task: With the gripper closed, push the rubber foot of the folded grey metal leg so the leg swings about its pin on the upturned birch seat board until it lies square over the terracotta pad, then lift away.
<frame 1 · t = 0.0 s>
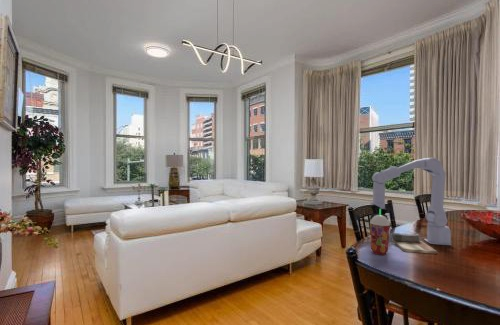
hand: (378, 219, 144), 10 cm above the table, tool pointing down, fingers open, 7 cm apart
coffee cup: (378, 245, 132), on the table
smoothie: (379, 253, 121), on the table
leg: (406, 237, 136), point 3 cm above the table, hinge at 0.0°
seat board: (412, 247, 130), on the table
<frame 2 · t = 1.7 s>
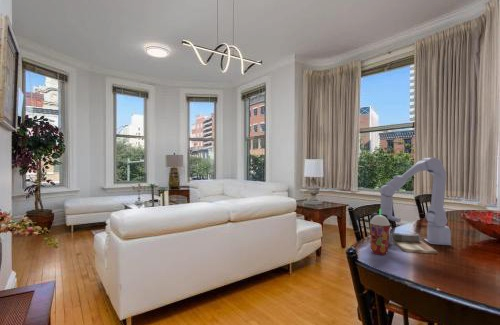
hand: (385, 232, 143), 3 cm above the table, tool pointing down, fingers closed
nothing on the table moved.
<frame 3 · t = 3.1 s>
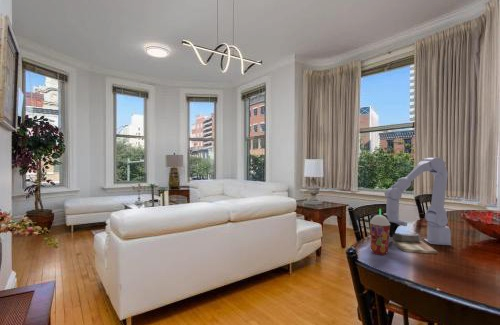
hand: (391, 236, 140), 2 cm above the table, tool pointing down, fingers closed, pressing on leg
leg: (406, 237, 136), point 3 cm above the table, hinge at 0.1°, touching gripper
everything else where it was.
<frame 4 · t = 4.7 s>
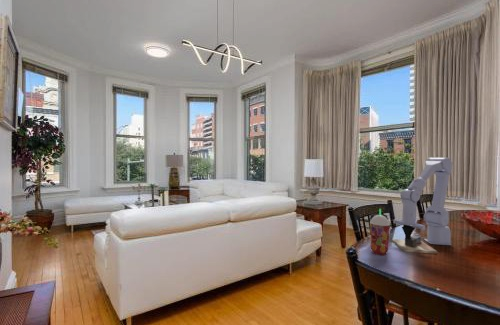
hand: (408, 241, 132), 2 cm above the table, tool pointing down, fingers closed, pressing on leg
leg: (413, 239, 131), point 3 cm above the table, hinge at 50.3°, touching gripper
everything else where it was.
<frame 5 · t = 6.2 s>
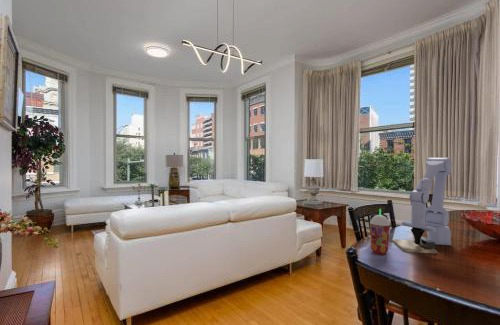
hand: (417, 243, 129), 2 cm above the table, tool pointing down, fingers closed, pressing on leg
leg: (423, 241, 130), point 3 cm above the table, hinge at 96.0°, touching gripper
everything else where it was.
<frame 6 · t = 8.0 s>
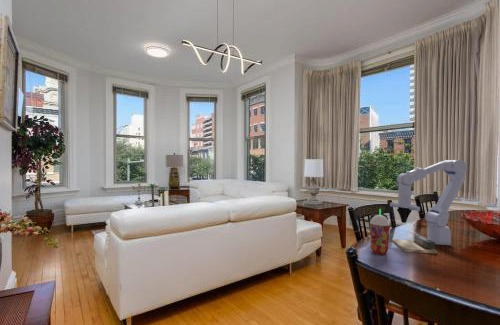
hand: (403, 222, 139), 10 cm above the table, tool pointing down, fingers closed
leg: (423, 241, 130), point 3 cm above the table, hinge at 96.2°
everything else where it was.
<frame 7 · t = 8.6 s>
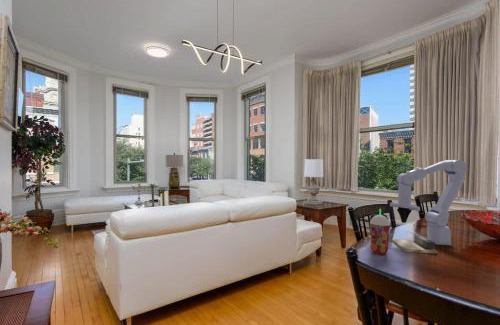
hand: (403, 222, 139), 10 cm above the table, tool pointing down, fingers closed
nothing on the table moved.
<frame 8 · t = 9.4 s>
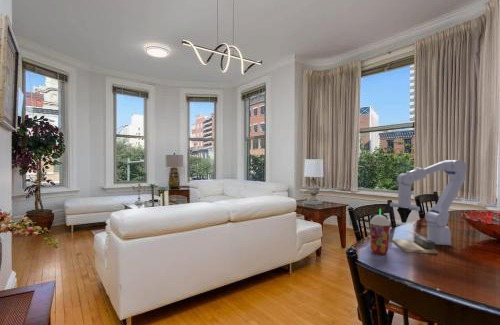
hand: (403, 222, 139), 10 cm above the table, tool pointing down, fingers closed
nothing on the table moved.
at the end: leg at +96° (first picture: +0°) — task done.
